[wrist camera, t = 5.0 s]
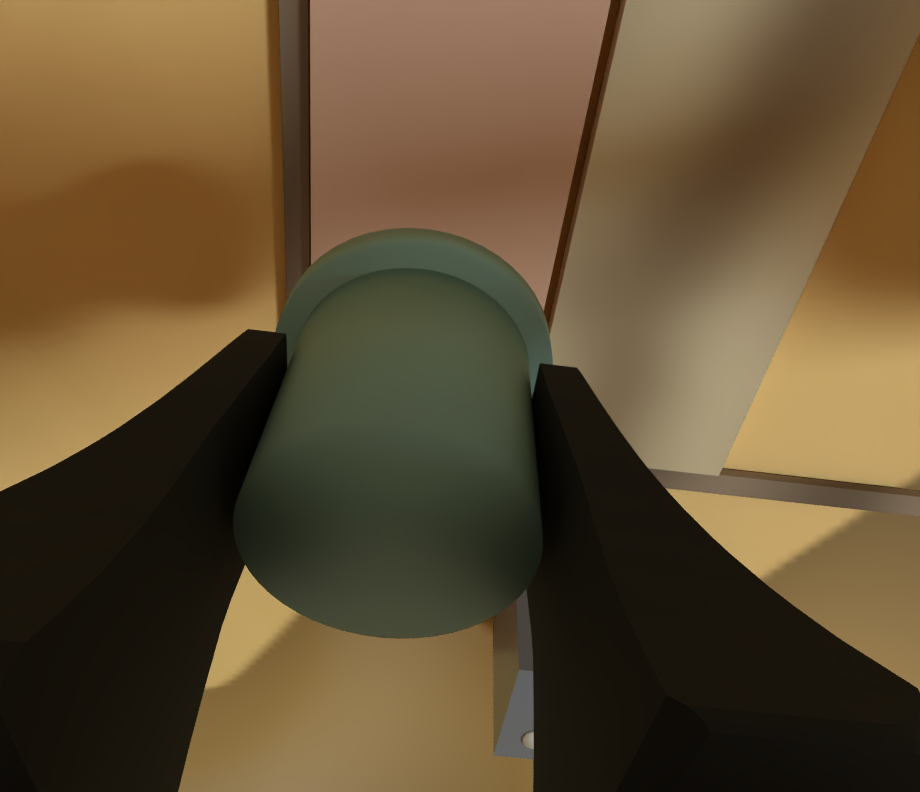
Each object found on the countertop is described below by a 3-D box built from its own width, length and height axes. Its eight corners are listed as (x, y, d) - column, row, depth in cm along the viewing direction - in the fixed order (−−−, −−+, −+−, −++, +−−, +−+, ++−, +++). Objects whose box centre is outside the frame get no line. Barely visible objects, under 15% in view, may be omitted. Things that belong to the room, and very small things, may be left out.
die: (656, 554, 25) (688, 688, 21) (620, 639, 28) (642, 771, 24) (514, 539, 25) (519, 671, 21) (492, 626, 28) (493, 757, 24)
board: (1377, -69, 14) (1408, -66, 14) (946, 512, 24) (955, 526, 23) (276, -237, 13) (268, -240, 13) (292, 440, 23) (288, 453, 22)
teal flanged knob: (575, 246, 12) (615, 422, 8) (526, 466, 15) (538, 668, 11) (275, 210, 12) (179, 375, 8) (285, 440, 14) (218, 638, 11)
